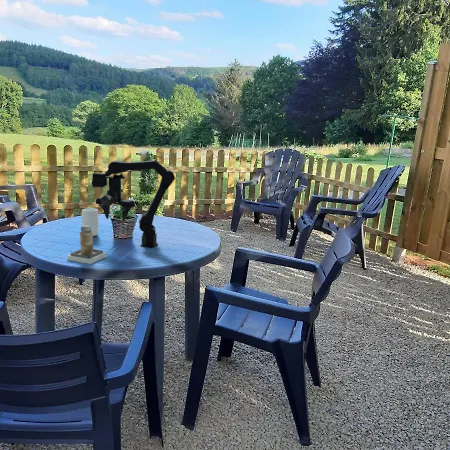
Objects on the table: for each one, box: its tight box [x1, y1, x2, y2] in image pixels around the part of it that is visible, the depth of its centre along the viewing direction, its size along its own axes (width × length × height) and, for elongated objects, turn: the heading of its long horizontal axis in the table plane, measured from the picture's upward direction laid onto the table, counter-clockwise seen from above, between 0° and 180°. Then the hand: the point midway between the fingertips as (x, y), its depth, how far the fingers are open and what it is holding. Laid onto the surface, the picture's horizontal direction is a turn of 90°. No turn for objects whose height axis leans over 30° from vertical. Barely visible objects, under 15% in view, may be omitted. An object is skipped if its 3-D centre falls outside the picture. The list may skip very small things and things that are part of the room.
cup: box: [81, 207, 100, 237], centre depth 219 cm, size 8×8×14 cm
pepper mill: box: [79, 225, 94, 256], centre depth 185 cm, size 5×5×12 cm
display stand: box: [66, 248, 107, 265], centre depth 186 cm, size 12×11×3 cm
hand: (115, 219), depth 204 cm, fingers open, 9 cm apart
